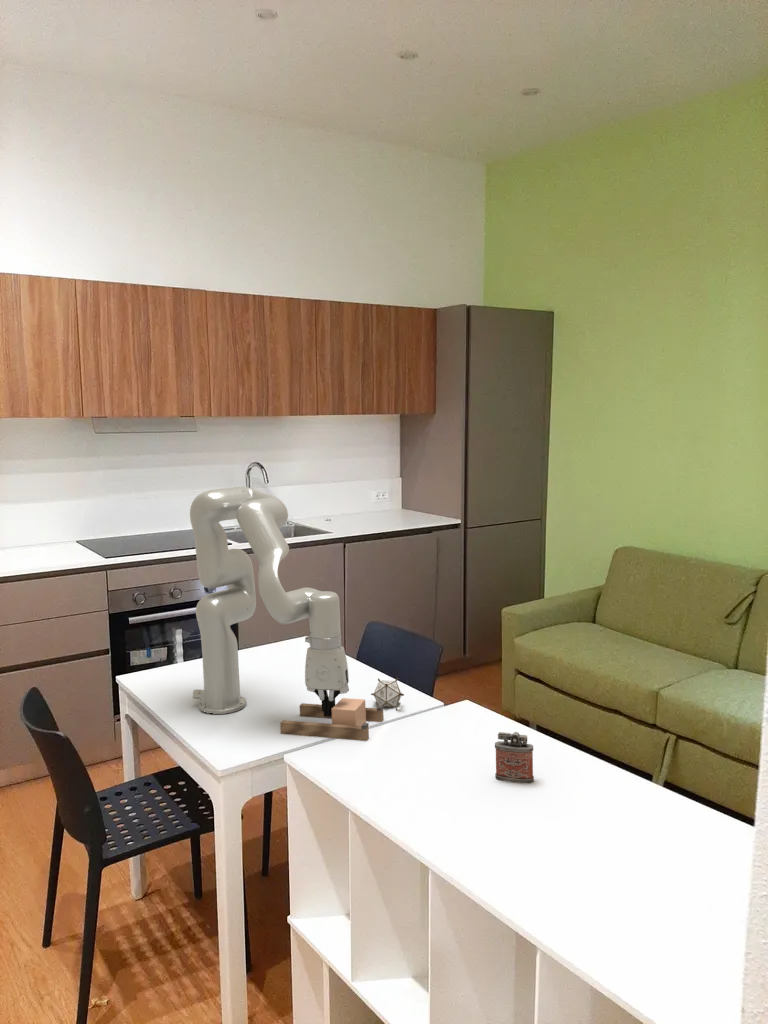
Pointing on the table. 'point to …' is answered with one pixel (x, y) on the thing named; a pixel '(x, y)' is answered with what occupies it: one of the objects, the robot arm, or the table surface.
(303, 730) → the chute
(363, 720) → the block
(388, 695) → the game die
